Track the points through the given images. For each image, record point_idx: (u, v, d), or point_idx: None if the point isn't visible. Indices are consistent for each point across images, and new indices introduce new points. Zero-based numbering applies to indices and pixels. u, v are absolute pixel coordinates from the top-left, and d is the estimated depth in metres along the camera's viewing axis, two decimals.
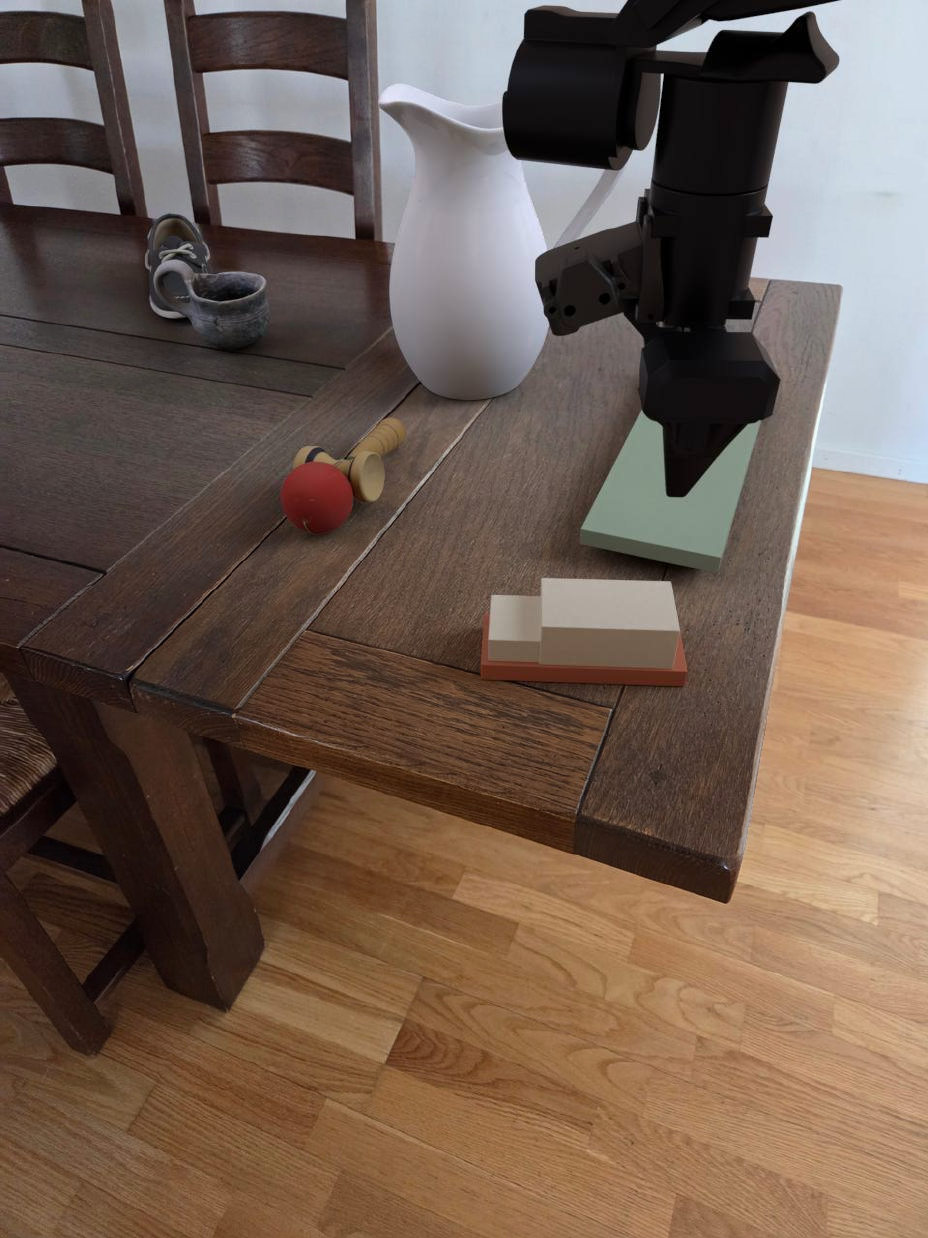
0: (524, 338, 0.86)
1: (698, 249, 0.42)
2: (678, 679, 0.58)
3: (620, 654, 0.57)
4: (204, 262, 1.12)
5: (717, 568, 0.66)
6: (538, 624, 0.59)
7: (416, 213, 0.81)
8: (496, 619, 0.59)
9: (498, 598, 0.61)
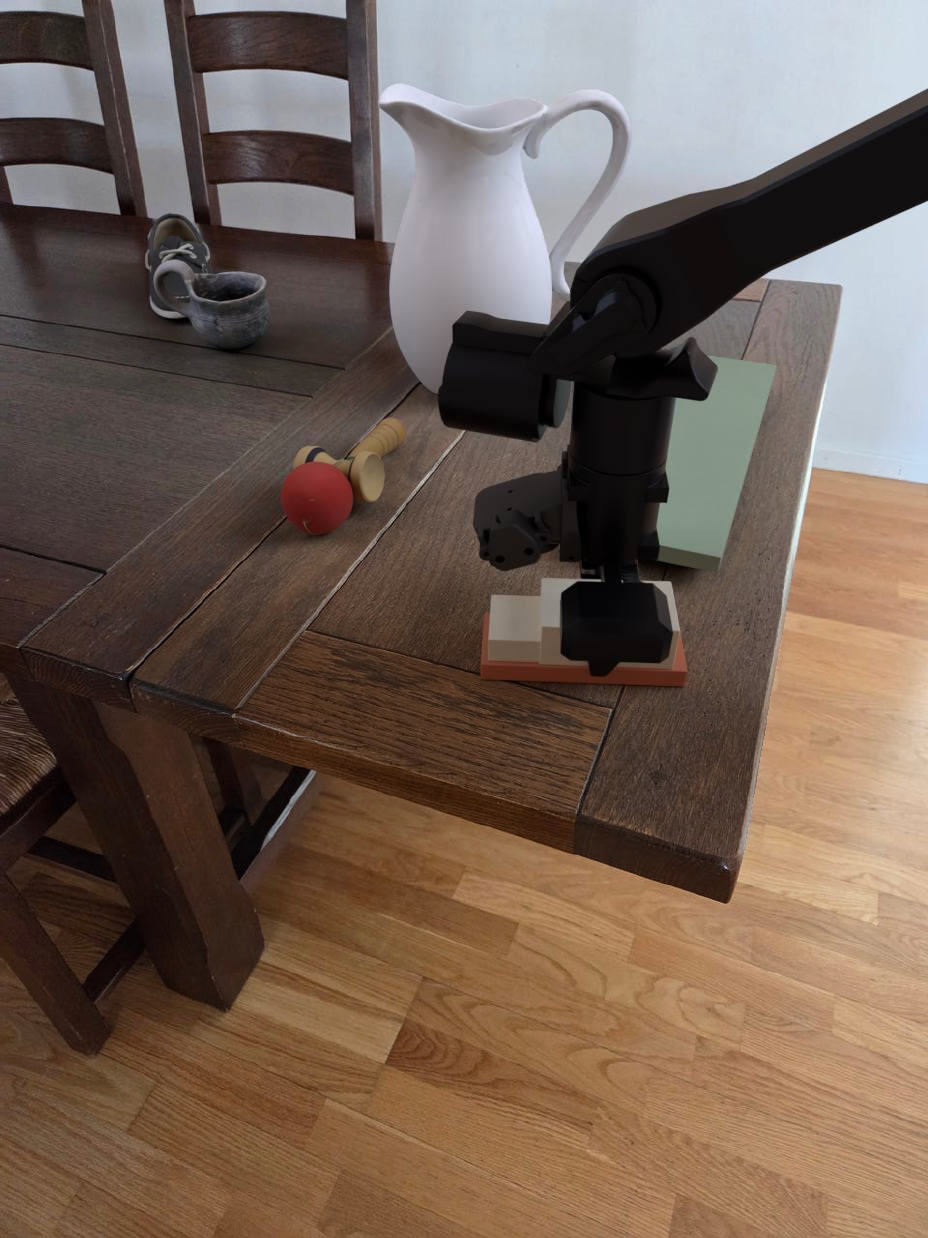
0: None
1: (608, 512, 0.50)
2: (678, 679, 0.58)
3: None
4: (204, 262, 1.12)
5: (717, 568, 0.66)
6: (538, 624, 0.59)
7: (416, 213, 0.81)
8: (496, 619, 0.59)
9: (498, 598, 0.61)
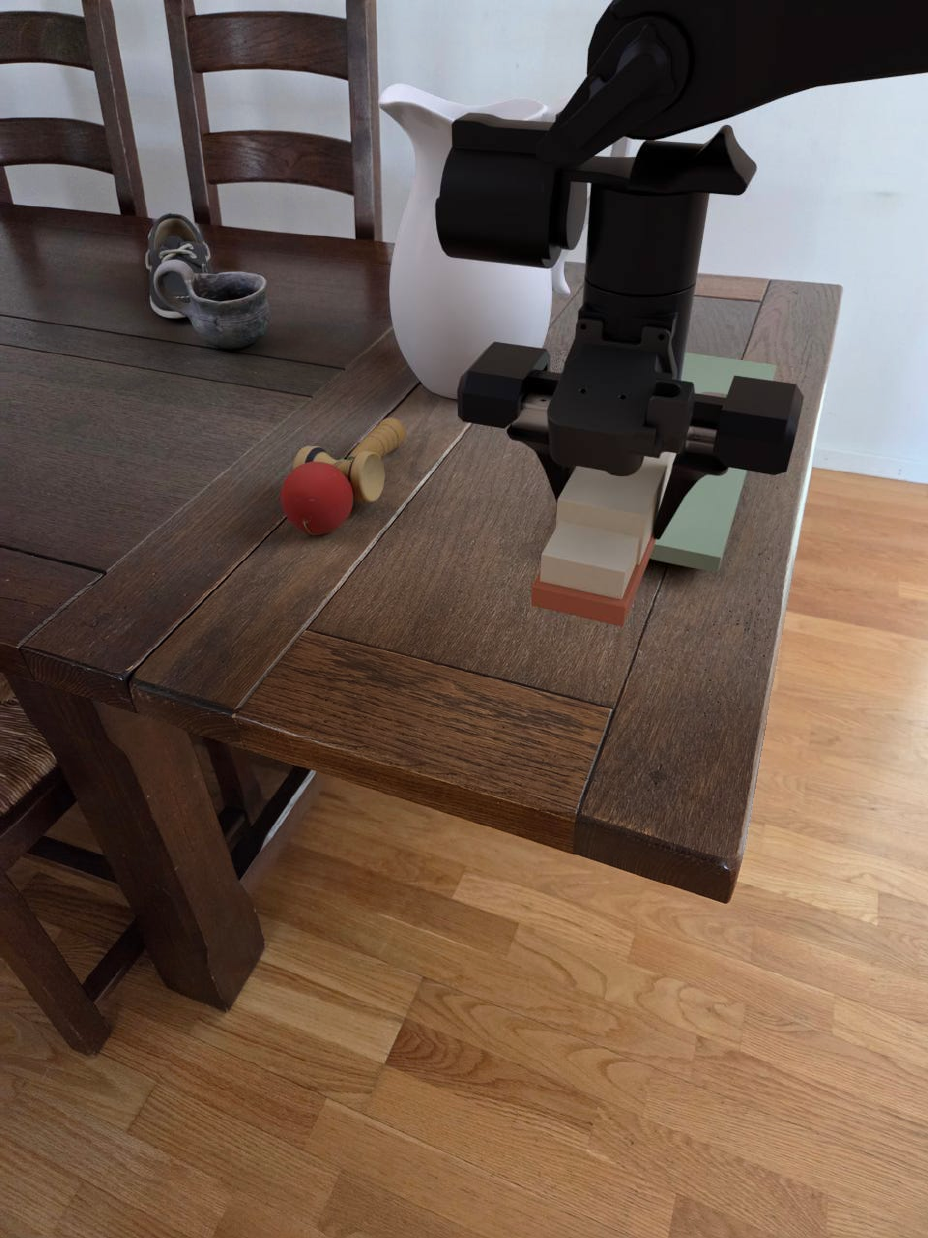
0: (524, 338, 0.86)
1: (685, 334, 0.45)
2: None
3: (660, 500, 0.53)
4: (204, 262, 1.12)
5: (717, 568, 0.66)
6: (610, 532, 0.50)
7: (416, 213, 0.81)
8: (590, 559, 0.48)
9: (550, 550, 0.48)
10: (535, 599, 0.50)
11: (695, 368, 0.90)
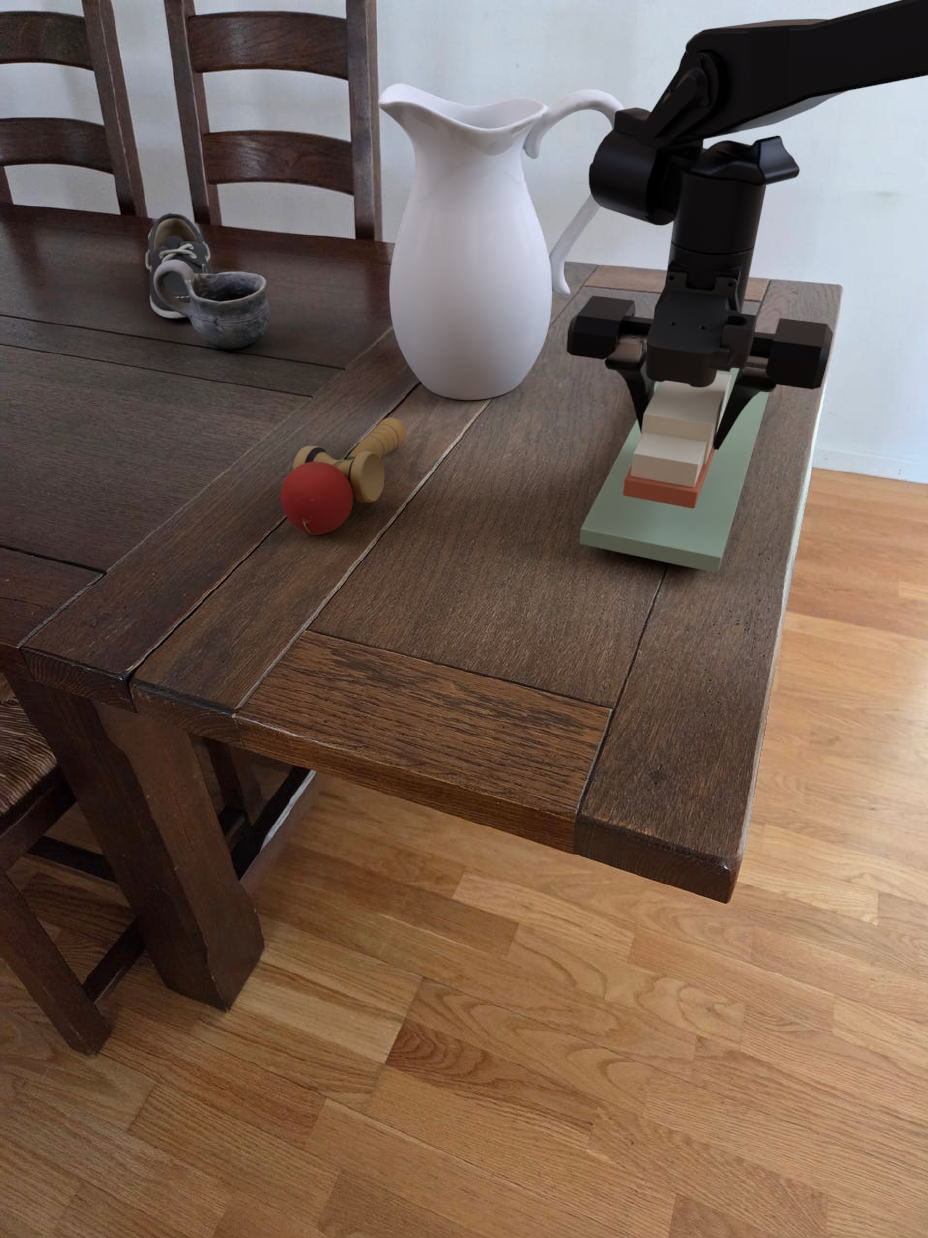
0: (524, 338, 0.86)
1: (745, 284, 0.60)
2: None
3: (719, 419, 0.69)
4: (204, 262, 1.12)
5: (717, 568, 0.66)
6: (684, 439, 0.65)
7: (416, 213, 0.81)
8: (671, 456, 0.63)
9: (640, 450, 0.64)
10: (626, 490, 0.65)
11: None
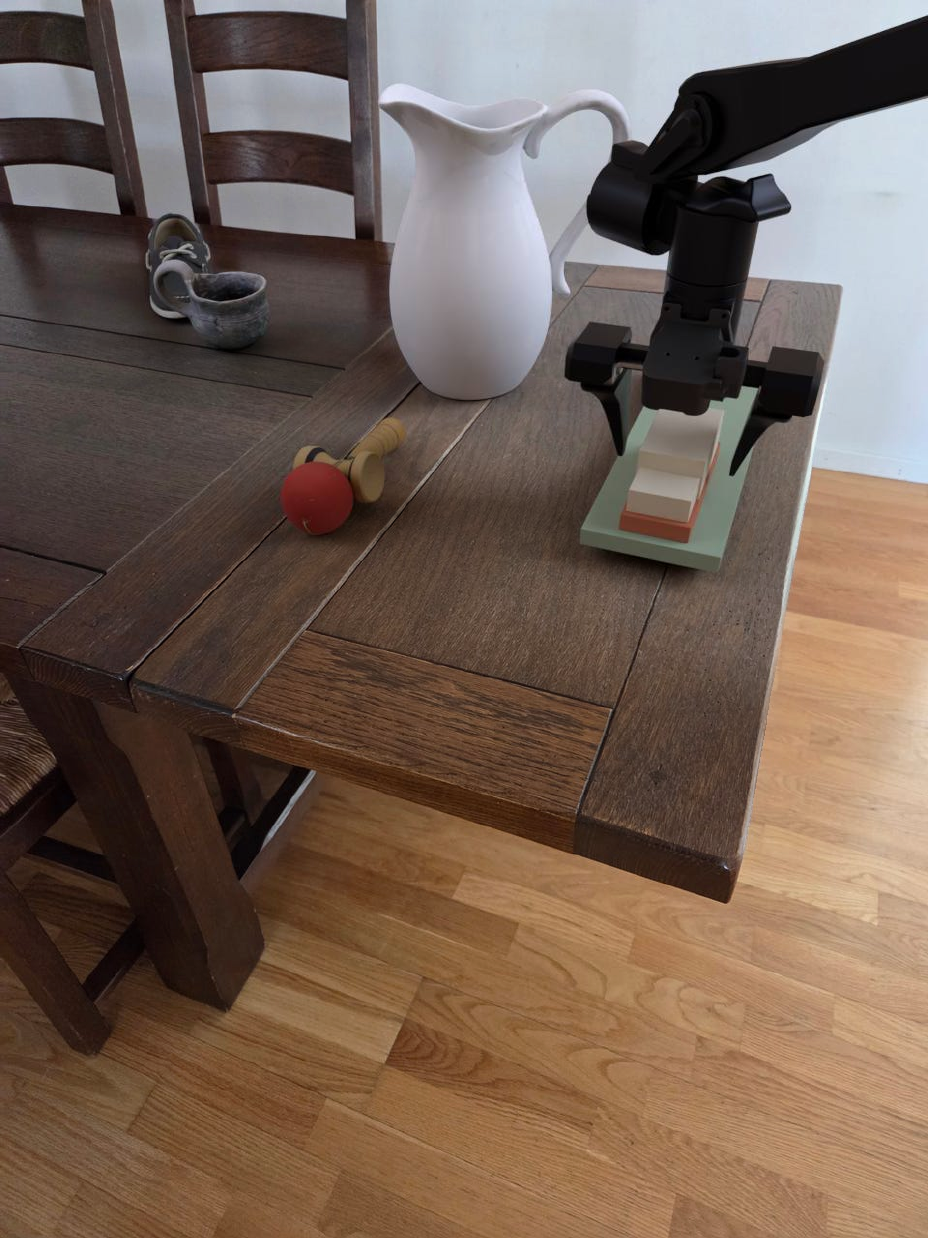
0: (524, 338, 0.86)
1: (739, 314, 0.62)
2: (718, 452, 0.75)
3: (712, 454, 0.71)
4: (204, 262, 1.12)
5: (717, 568, 0.66)
6: (678, 475, 0.67)
7: (416, 213, 0.81)
8: (665, 492, 0.65)
9: (635, 486, 0.66)
10: (622, 524, 0.67)
11: None
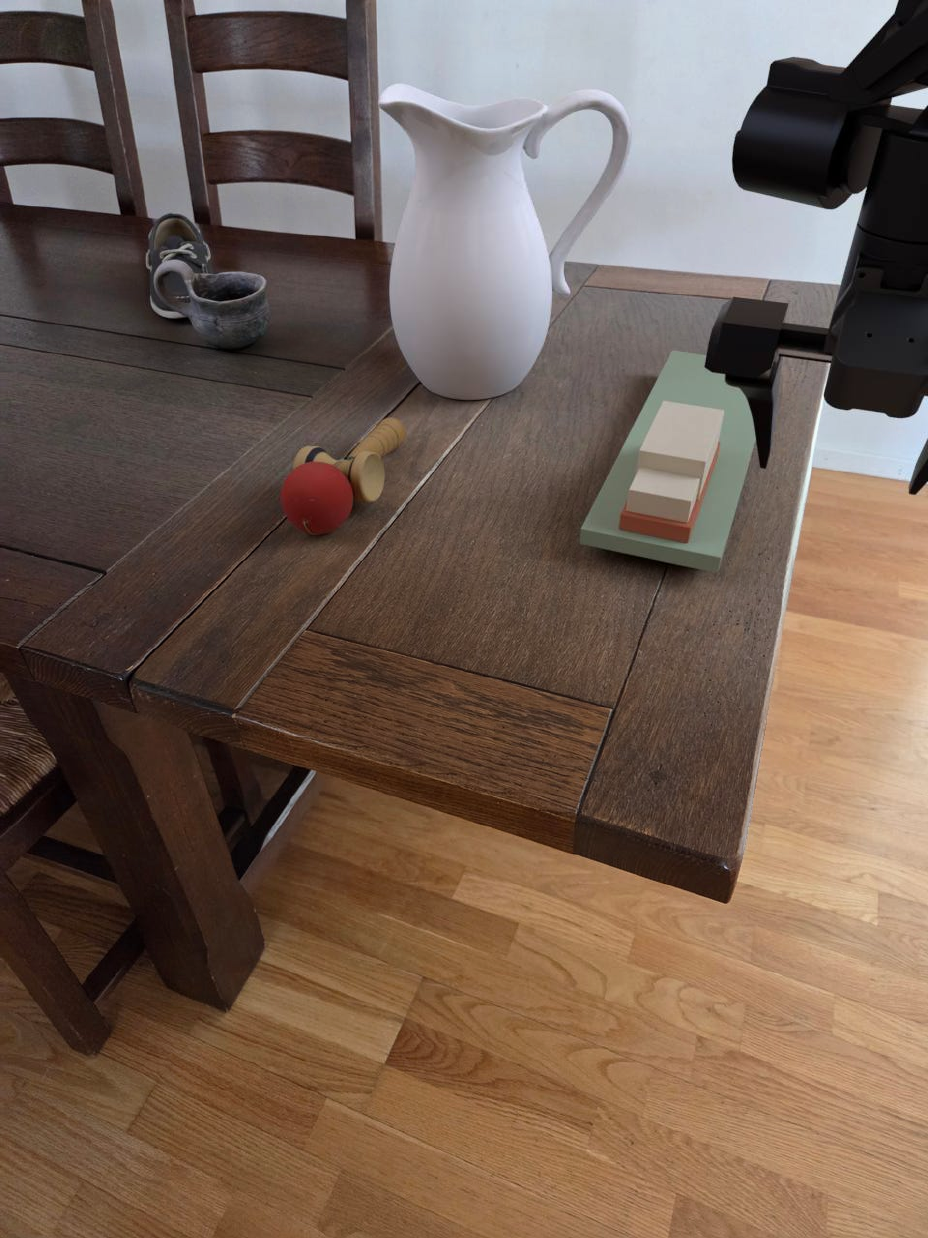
0: (524, 338, 0.86)
1: None
2: (718, 452, 0.75)
3: (712, 454, 0.71)
4: (205, 262, 1.13)
5: (717, 568, 0.66)
6: (678, 475, 0.67)
7: (416, 213, 0.81)
8: (665, 492, 0.65)
9: (635, 486, 0.66)
10: (622, 524, 0.67)
11: (695, 368, 0.90)
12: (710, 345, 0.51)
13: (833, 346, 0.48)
